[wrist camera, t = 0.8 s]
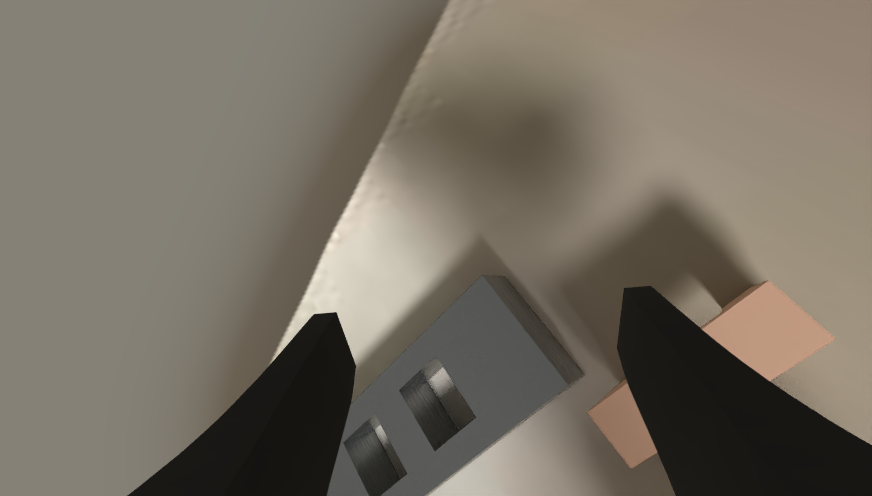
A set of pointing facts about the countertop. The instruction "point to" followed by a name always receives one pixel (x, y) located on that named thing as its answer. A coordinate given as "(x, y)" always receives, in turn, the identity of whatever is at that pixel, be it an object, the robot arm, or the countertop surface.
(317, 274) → the countertop surface
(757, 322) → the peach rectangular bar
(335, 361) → the robot arm
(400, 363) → the gray slotted board
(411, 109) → the countertop surface
